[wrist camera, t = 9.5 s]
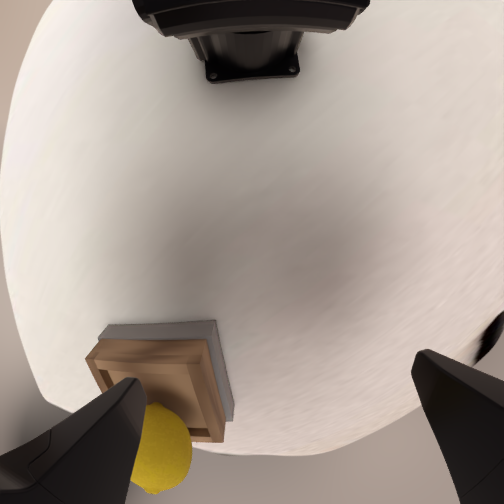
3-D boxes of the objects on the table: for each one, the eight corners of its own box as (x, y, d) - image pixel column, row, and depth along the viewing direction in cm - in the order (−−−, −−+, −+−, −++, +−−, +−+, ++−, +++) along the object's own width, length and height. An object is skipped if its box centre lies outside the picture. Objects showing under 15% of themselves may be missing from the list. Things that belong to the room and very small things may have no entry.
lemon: (204, 399, 18) (208, 496, 11) (175, 423, 20) (175, 502, 13) (134, 375, 16) (119, 480, 9) (116, 403, 18) (104, 486, 11)
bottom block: (216, 316, 22) (211, 335, 19) (234, 399, 24) (233, 421, 21) (111, 321, 22) (97, 337, 19) (144, 398, 25) (136, 417, 22)
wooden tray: (206, 338, 19) (199, 364, 16) (225, 418, 21) (223, 442, 18) (101, 338, 19) (85, 358, 16) (135, 413, 21) (126, 434, 19)
